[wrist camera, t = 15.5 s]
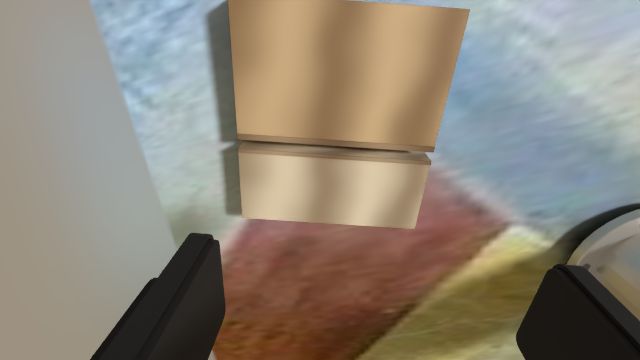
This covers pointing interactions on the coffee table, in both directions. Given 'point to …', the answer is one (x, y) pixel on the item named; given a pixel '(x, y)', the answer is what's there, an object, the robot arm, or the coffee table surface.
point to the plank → (343, 71)
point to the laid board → (331, 183)
